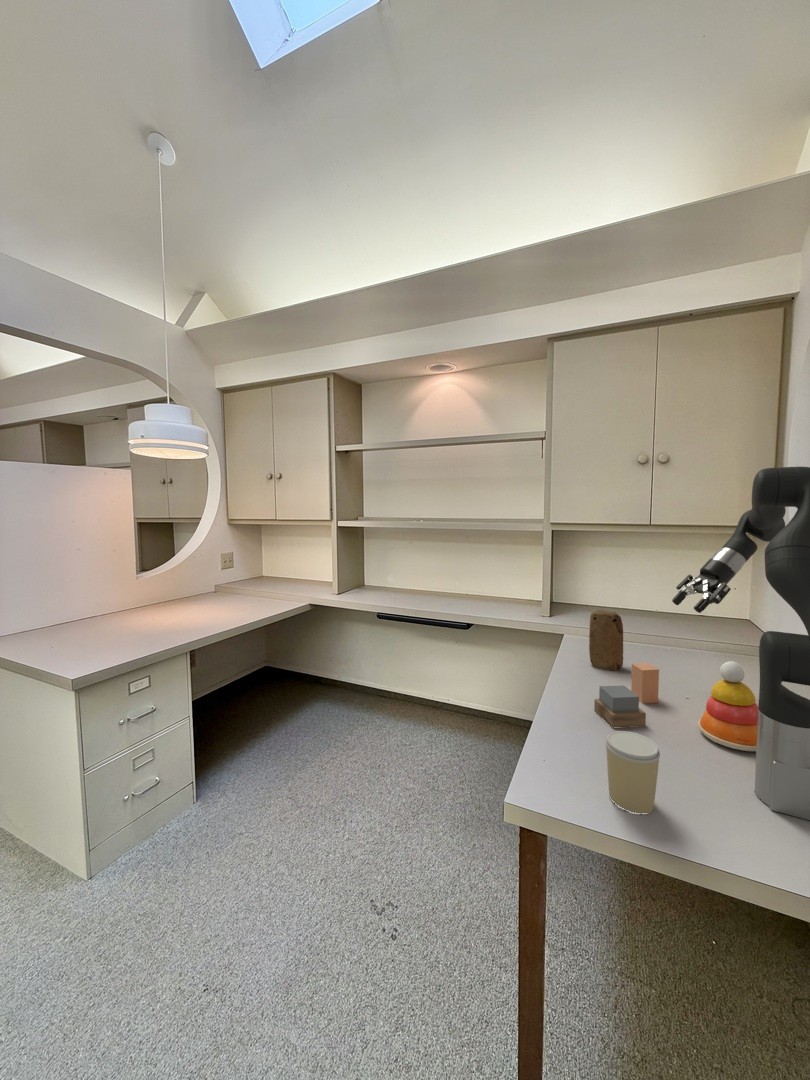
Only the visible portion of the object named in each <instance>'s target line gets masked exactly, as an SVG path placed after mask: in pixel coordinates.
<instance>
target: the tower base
mask: <svg viewBox="0 0 810 1080" xmlns="http://www.w3.org/2000/svg"><path fill="white" fill-rule="evenodd" d="M593 705H594V706H593V707H594V709H593V710H594V711H595V712H596V713H595V712H594V711H593V712H594V713H595V714H596V715H597V716H598V717H600V719H602V718H603V719H604V720H605V721H606V722H607V723H608V724H609V725H610V726H609V725H608V724H607V723H606V722H605V721H604V720H603V719H602V720H603V721H604V722H605V723H606V724H607V725H608V726H609V727H610V728H612V727H613V728H612V729H615V728H614V727H626V728H631V727H630V726H642V727H646V720H647V719H646V717H647V713H646V712H645V711H644V710H643V709H641V708H639V711H636V712H612V711H611V710H610V709H608V708H607V707H606V706H605V705H604V704H603V703H602V702H601V701H600V700H599V698H594V704H593Z"/></svg>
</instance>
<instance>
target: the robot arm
mask: <svg viewBox="0 0 810 1080" xmlns="http://www.w3.org/2000/svg"><path fill="white" fill-rule="evenodd" d="M751 487H752V489H751V509H749V510H746V511H745V512H744V513H743V514H742V515H741V516H740V518H739V520H738V523H737V525H736V528H735V530H734V531H733V534H732V536H730V538H729V539H728V540H727V541H726V543H725V544H724V545H723V546H721V548H720V549H719V550H718V551H716V552H715V553H714V554H713V555H712V556H711V557H710V558H709V559H708V561H706V562H705V564H704V565H703V566H701V568H700V569H699V575H697V576H696V577H694V576H693V575H692V574H688V575H686V577H685V578H684V579H683V580H681V582H680V583H679V584H677V586H676V587H675V588H676V590H677V591H678V592H677V593H676V595H675V596H674V597H672V603H673V604H675V605H676V606H680V604H681V603H682V602H683V601H684V600H685V599H686V597H688V596H690V595H696V594H702V595H703V598H701V599H699V600H698V602H696V604H695V605H694V606H693V609H694V611H695V612H696V613H698V614H699V613H702V612H704V611H705V609H707V607H708V606H709V605H712V604H716V605H718V604H720V603H722V601H723V600H724V599H725V597H726V596H727V595H728V594H729V593H730V591H731V587H730V586H729V585H728V584H729V582H731V580H733V578H734V577H735V576H736V575H737V574H738V573H739V572H740V571H741V570H742V569H743V567H744V565H745V564H746V563H747V561H749V560H750V559H751V557H752V556H753V555H754V554H755V553H756V552H757V550H758V545H757V543H756V542H755V541H754V540H753V539H751V537H749V536H748V535H747V534H749V535H751V536H752V537H753V538H754V537H755V538H757V539H759V540H760V541H763V542H766V543H767V545H766V547H765V549H764V571H765V572H764V573H765V578H766V580H767V582H768V584H769V585H770V587H772V589H773V590H774V591H775V592H776V593H777V594H778V595H779V596H780V597H781V598H782V599H783V600H784V602H786V603H787V604H788V605H789V606H790V607H791V608H792V609H793V610H794V612H795V613H796V614H797V615H798V617H799V618H800V621H802V623H803V625H804V628H805V629H806V633H807V634H799V633H792V632H785V631H784V632H783V631H773V630H768V631H765V632H764V633H763V634H762V635H761V636H760V639H759V646H758V647H759V648H758V649H759V650H758V661H759V691H758V694H759V695H758V705H757V706H758V723H757V744H756V751H755V769H754V771H755V772H754V794H755V795H756V797H757V798H758V799H759V800H760V799H761V800H760V801H761V802H762V803H764V804H766V806H768V807H769V810H771V811H774V812H776V813H777V812H778V813H782V814H784V815H789V816H793V817H796V818H800V819H803V820H806V821H807V820H808V821H810V699H809V698H808V697H805V696H802V695H800V694H797V693H796V692H794V691H792V690H790V689H789V688H787V687H786V686H784V685H783V684H782V682H783V683H784V682H785V683H791V684H796V685H797V684H798V685H801V686H809V687H810V466H781V467H780V466H779V467H767V468H763V469H760V470H759V471H758V472H757V473H756V474H755V475H754V479H753V482H752V485H751ZM788 507H789V508H792V507H794V508H796V509H797V510H796V512H795V513H794V515H793V517H792V518H791V520H789V522H788V523H787V524H786V522H785V520H784V517H785V515H786V513H787V512H786V511H787V510H786V508H788ZM683 586H684V587H683Z"/></svg>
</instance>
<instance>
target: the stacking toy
mask: <svg viewBox="0 0 810 1080" xmlns="http://www.w3.org/2000/svg"><path fill="white" fill-rule="evenodd" d="M719 674H720V676H721V678H722V679H721V680H718V682H716V683H715V684H714V685H713V686H712V688H711V693H710V694H711V696H710V697H708V699H707V702H706V705H705V709H706V710H705V711H704V712H703V714H702V715H701V718H700V719H699V720H698V722H697V728H698V729H699V731H700V732H701V733H702V734H703V735H704V736H705V737H706V738H708V739H709V740H711V741H712V742H713V743H717V744H719V745H722V746H724V747H727V748H730V749H733V750H738V751H745V752H756V744H757V723H758V705H757V703H756V702H757V701H756V697H755V693H753V690H751V688H750V687H749V686H748V685H747V684H746V683H743V682H742V681H743V680H744V679H745V671H744V669H743V667H742V666H741V665H740V664H739V663H738V662H736V661H732V660H731V661H726V662H723V664H722V665H721V666H720V668H719Z"/></svg>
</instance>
